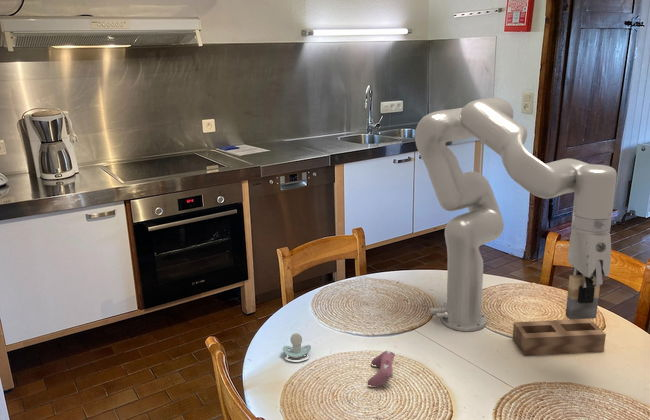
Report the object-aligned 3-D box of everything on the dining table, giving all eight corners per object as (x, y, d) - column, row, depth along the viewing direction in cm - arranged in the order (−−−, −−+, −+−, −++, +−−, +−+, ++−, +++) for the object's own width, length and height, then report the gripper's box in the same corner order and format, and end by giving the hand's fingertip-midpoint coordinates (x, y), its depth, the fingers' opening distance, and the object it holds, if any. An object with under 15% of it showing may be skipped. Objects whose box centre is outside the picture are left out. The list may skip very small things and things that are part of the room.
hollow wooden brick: (524, 355, 131) (525, 338, 130) (512, 339, 139) (513, 322, 137) (603, 351, 131) (605, 334, 130) (587, 335, 139) (589, 318, 137)
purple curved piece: (383, 395, 121) (396, 373, 118) (365, 386, 121) (378, 364, 119) (386, 371, 130) (399, 349, 128) (370, 362, 130) (382, 341, 128)
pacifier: (310, 363, 132) (311, 350, 138) (309, 342, 130) (310, 329, 136) (282, 364, 132) (283, 351, 138) (280, 343, 130) (282, 330, 136)
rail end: (569, 319, 118) (573, 278, 115) (565, 315, 120) (569, 275, 117) (596, 318, 118) (600, 277, 115) (591, 314, 120) (596, 273, 117)
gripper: (629, 233, 105) (618, 316, 111) (589, 211, 120) (581, 284, 126) (592, 235, 105) (583, 317, 111) (557, 212, 120) (550, 285, 126)
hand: (582, 299), depth 118 cm, fingers closed on rail end, 1 cm apart
